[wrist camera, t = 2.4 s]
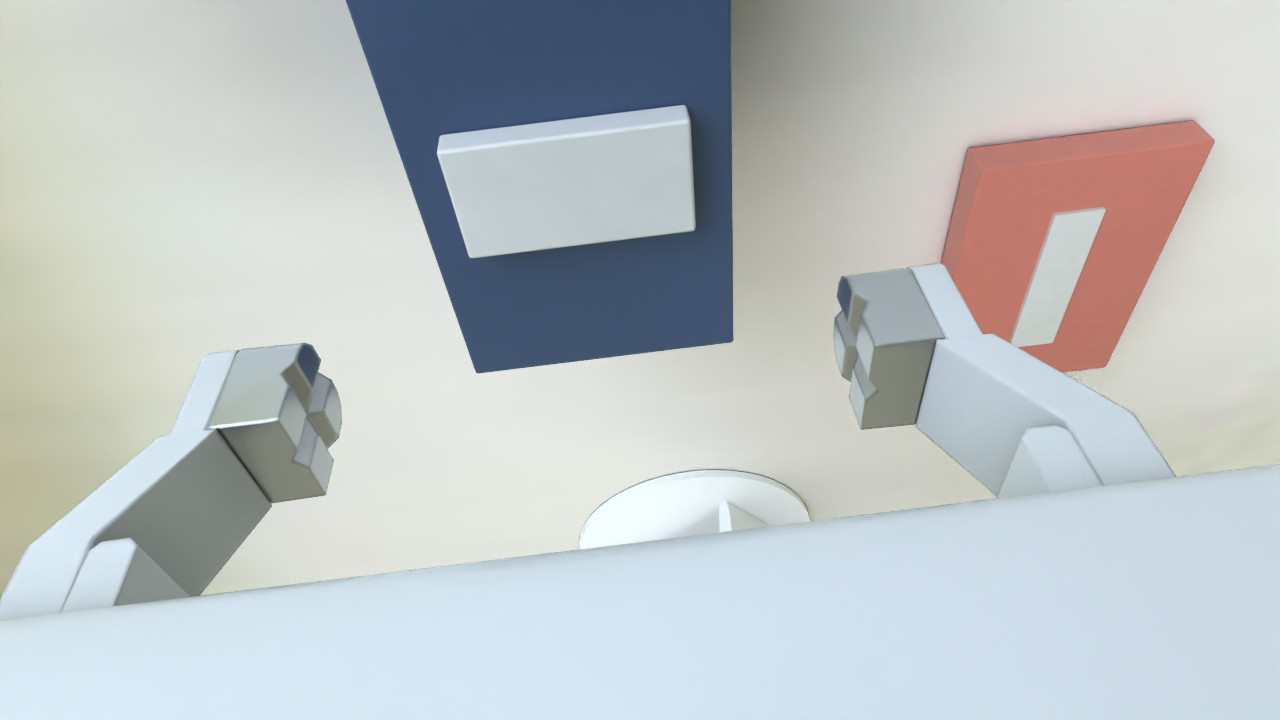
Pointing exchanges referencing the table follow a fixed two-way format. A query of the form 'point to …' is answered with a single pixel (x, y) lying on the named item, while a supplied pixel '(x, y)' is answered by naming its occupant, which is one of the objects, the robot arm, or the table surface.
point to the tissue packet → (1068, 234)
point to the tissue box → (566, 167)
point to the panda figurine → (692, 508)
